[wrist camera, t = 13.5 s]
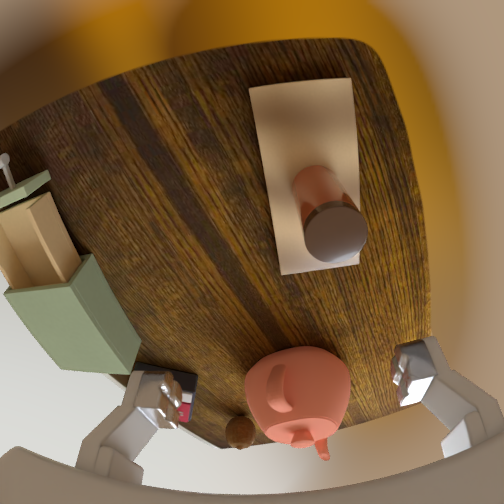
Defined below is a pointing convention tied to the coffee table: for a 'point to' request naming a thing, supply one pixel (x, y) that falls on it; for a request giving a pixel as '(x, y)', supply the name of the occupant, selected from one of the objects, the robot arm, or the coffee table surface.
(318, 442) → the teapot
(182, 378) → the calculator
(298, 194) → the spice jar
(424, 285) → the coffee table surface
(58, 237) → the drawer
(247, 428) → the fruit
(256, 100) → the board
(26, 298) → the cabinet
